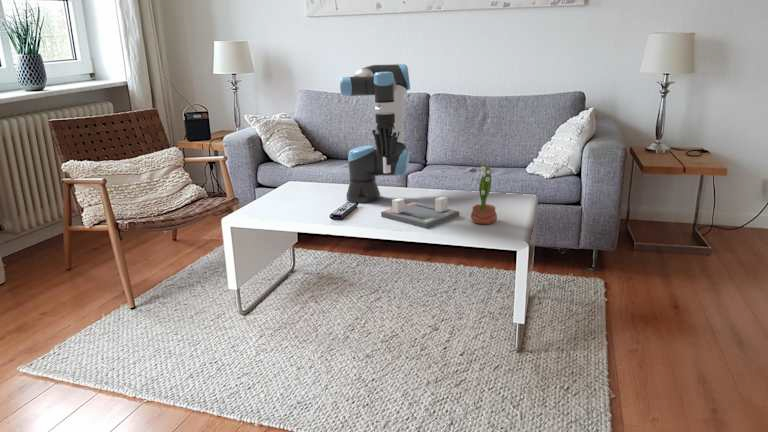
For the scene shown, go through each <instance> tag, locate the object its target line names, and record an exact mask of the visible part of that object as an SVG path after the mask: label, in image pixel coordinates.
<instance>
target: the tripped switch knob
mask: <svg viewBox="0 0 768 432" xmlns="http://www.w3.org/2000/svg"><path fill="white" fill-rule="evenodd" d="M405 204H406V203H405V199H404V198H401V197H398V198H395V199H392V200H391V206H392V208H391V209H392V212H394V213H401V212H404V211H405Z"/></svg>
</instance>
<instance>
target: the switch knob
mask: <svg viewBox="0 0 768 432" xmlns="http://www.w3.org/2000/svg"><path fill="white" fill-rule="evenodd" d="M434 206H435V211H438V212H443V211H446V210H447V209H448V197H446V196H440V197H436V198H435V199H434Z"/></svg>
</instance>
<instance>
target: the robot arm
mask: <svg viewBox="0 0 768 432" xmlns="http://www.w3.org/2000/svg"><path fill="white" fill-rule="evenodd" d="M408 68H409V67H408V66H407V65H406V64H404V63H402V64H400V63H396V64H372V65H369V66H365V67H362V68H360V69H359V70H357V71H355V73H354V75H353V76H343V77H341V78H340V80H339V90H340V95H341V96H343V97H355V96H357V97H359V96H374V107H375V108H374V109H375V113H376V114H375V124H377V125H376V128H375V129H373V130H372V131H371V132H372V135H373V137H374V142H375V146H376V147H375V146H374V145H363V146H358V147H354V148H352V149H350V150H349V151H348V156H347V157H348V160H347V161H348V174H349V175H348V176H349V184H348V189H347V192H346V201H348V202H350V201H351V203H355V202H358V203H357V204H361V203H362V204H363V203H365V204H366V203H373V202H376V201H378V200H380V199H381V192H380V190H379V187H378V184H377V177H385V176H387V177H389V176H390V177H393V176H395V177H398V176H404V175H406V174H407V172H408V170H409V164H410V155H411V153H410V152H411V151H410V148H407V145H406V144H405V142H404V97H405V96H406V95H407V93H408V91H409V90H411V83H410V75H409V69H408Z"/></svg>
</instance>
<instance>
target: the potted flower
mask: <svg viewBox="0 0 768 432" xmlns="http://www.w3.org/2000/svg"><path fill="white" fill-rule="evenodd" d="M482 161H483V162H482ZM479 163H482V164H481V165H480V166H479V167H478V169H477V173H480V174H479V175H478V177H480V176H481V178H477V180H476V183H478V184H479V186H478V188H479V189H478V191H479V197H480V204H476V205H473V206H471V207H472V212H471V214H470V219H471V221H472V222H473V223H476V224H479V225H489V224H493V223H495V222H496V220H498V215H497V212H496V207H495V205H491V204H486V203H487V199H488V196H489V194H490V192H491V190H492V189H491V187H492V173H491V172H492V171H491V169H490V167H489V165H487V164H486V165H485V160H484V158H482V159H481V160H480V161H479Z"/></svg>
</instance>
